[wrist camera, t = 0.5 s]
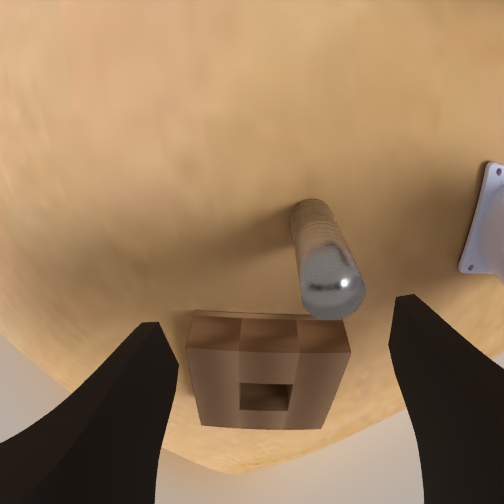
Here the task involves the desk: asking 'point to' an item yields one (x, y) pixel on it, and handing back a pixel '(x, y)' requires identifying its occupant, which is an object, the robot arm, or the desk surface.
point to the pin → (324, 263)
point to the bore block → (265, 369)
